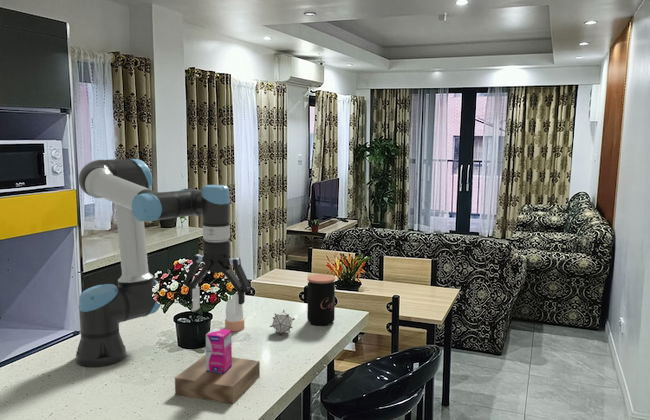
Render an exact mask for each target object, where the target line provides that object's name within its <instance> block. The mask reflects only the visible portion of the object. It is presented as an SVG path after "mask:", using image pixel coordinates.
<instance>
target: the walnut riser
mask: <svg viewBox="0 0 650 420" xmlns="http://www.w3.org/2000/svg"><path fill="white" fill-rule="evenodd" d="M260 363H261V362H260V360H255V359H247V358H239V357H234V356H233V357H232V367H230V368H229V369H228V370H227V371H226V372H225V373H224V374H221V373H215V372H206V354H204V355H203V356H201V358H199V359H198V360H196V361H195V362H194V363H192V364H191V365H190V366H188V367H187V368H186V369H184V370H183V371H181V372H180V373H179V374H178V375H177V376H175V378H174V389H175V392H174V394H175V395H176V396H181V397H182V396H183V397H189V398H192V399H193V398H194V399H201V400H208V401H213V402H220V403H223V404H224V403H225V404H232V405H234V404H235V403H236V401H238V400H239V399H240V397H242V395H244V393H245V392H246V391H247V390H248V389H249V388H250V387H251V386H253V384H255V382H256V381H257V380H259V378H260V373H261V372H260V371H261V370H260V368H261V365H260Z"/></svg>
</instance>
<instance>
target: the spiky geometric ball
mask: <svg viewBox="0 0 650 420" xmlns="http://www.w3.org/2000/svg"><path fill="white" fill-rule="evenodd" d="M272 319H273V321H272V324H271V325H270V326H269V328H273V329H275V332H278V333H279V335H280V336H282V335H283V334H284V333H286V332H291V330H290V329H293V326H292V325H293V321H294V320H295V318H294V317H293V318H292V317H291V316H290V314H289V313H286V312H285V309H283V310H282V312H280V313H274V317H272Z"/></svg>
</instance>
